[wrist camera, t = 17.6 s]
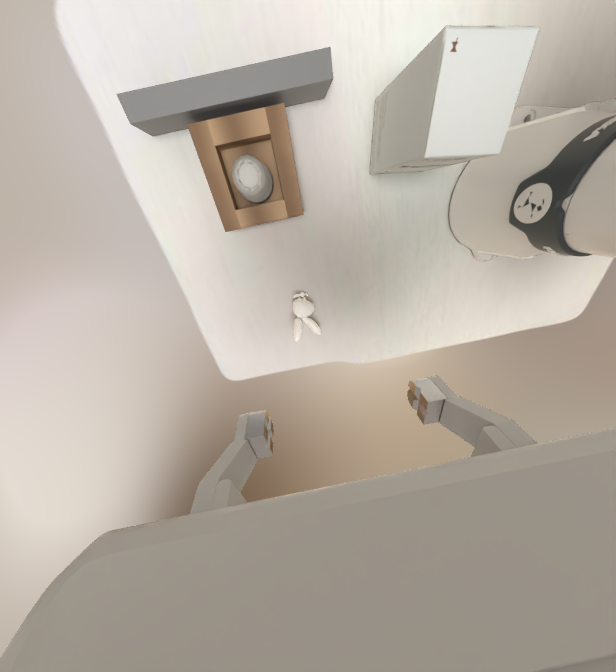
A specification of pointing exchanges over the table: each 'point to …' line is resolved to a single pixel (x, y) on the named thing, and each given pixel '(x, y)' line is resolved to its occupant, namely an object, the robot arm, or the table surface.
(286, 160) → the socket block
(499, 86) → the supplement box
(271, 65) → the backstop board
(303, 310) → the rabbit figurine
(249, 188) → the rook chess piece
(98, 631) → the robot arm
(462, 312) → the table surface
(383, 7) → the table surface
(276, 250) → the table surface
